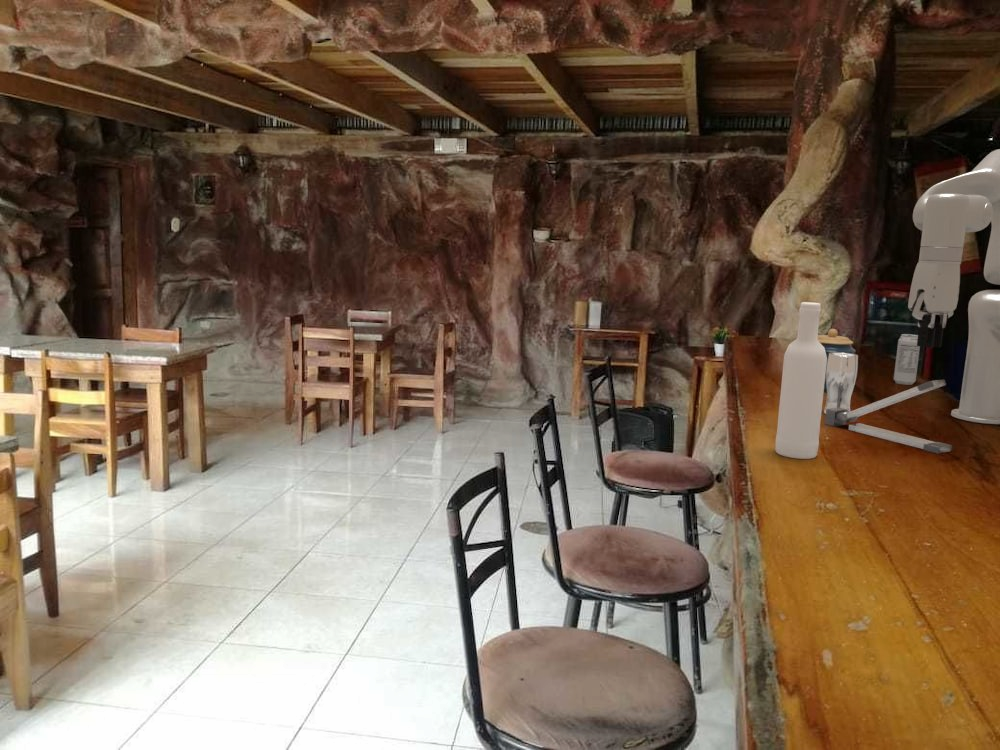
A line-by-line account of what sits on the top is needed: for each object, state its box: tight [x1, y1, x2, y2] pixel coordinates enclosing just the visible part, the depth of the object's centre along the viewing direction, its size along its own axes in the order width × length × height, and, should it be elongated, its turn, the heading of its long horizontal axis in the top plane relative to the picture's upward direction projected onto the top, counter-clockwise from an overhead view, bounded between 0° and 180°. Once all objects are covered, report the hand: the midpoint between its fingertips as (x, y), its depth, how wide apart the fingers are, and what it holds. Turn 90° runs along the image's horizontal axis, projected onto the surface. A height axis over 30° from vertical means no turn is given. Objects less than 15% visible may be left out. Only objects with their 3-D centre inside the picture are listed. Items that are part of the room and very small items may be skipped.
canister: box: [817, 328, 857, 393], centre depth 222 cm, size 13×13×18 cm
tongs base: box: [824, 407, 953, 454], centre depth 168 cm, size 27×5×4 cm, turn 29°
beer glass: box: [823, 352, 859, 415], centre depth 188 cm, size 7×7×15 cm
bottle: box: [775, 301, 827, 460], centre depth 150 cm, size 8×8×30 cm
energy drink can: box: [893, 333, 921, 386], centre depth 235 cm, size 6×6×15 cm
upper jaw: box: [836, 379, 947, 423], centre depth 167 cm, size 24×5×2 cm, turn 29°
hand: (929, 345), depth 158 cm, fingers closed
